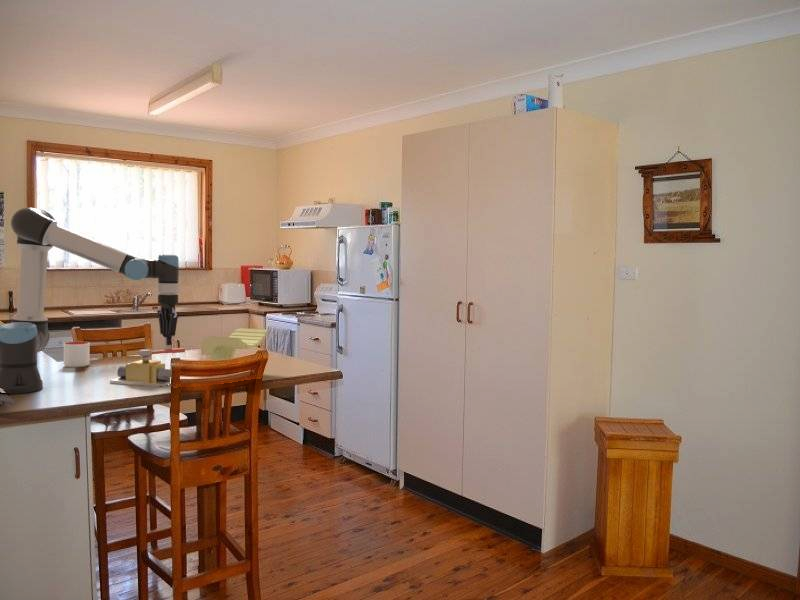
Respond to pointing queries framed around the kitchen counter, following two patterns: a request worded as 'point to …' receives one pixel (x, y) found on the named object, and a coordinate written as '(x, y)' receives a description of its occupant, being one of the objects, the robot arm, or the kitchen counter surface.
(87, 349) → the cup
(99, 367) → the kitchen counter surface
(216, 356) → the slatted curved stool
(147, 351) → the lever
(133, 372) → the valve
